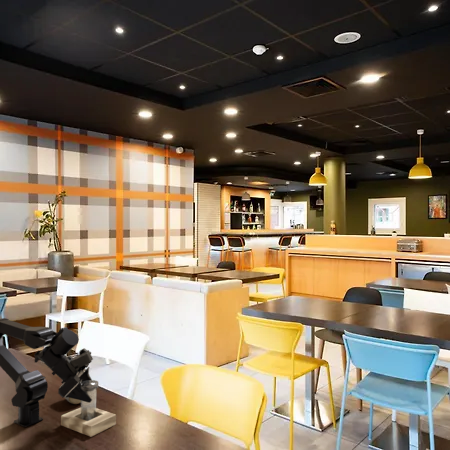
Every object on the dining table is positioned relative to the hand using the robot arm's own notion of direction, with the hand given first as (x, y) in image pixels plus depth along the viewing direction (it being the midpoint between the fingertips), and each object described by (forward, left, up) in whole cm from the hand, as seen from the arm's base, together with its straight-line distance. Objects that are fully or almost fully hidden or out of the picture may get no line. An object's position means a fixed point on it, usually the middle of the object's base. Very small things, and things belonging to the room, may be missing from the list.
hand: (93, 395), depth 134 cm
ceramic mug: (-20, +10, -9) cm, 25 cm away
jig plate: (-1, -1, -9) cm, 9 cm away
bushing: (-1, -1, -9) cm, 9 cm away
